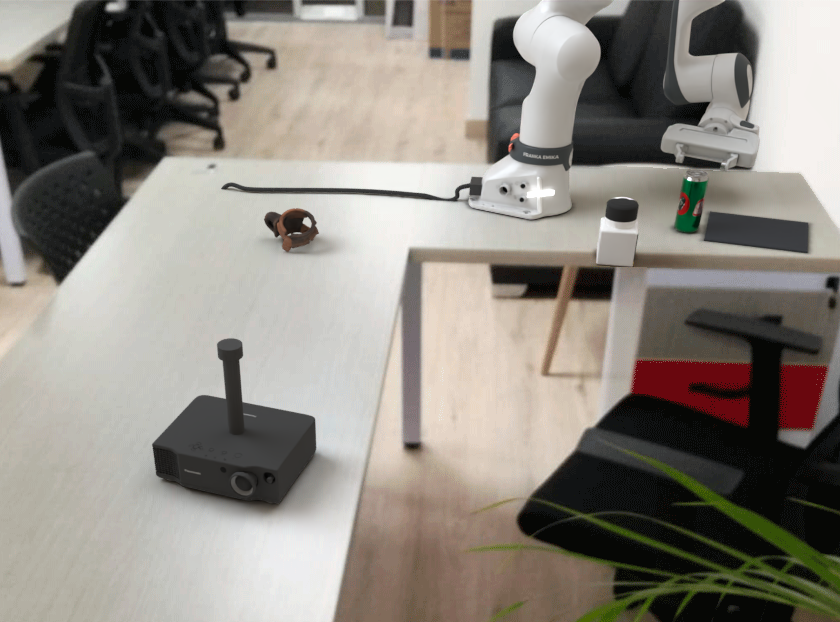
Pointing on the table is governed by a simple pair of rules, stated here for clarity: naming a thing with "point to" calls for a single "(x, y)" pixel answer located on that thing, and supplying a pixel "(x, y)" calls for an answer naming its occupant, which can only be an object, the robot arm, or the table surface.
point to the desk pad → (757, 232)
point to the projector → (235, 442)
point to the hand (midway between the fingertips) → (701, 163)
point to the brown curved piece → (292, 227)
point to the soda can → (691, 201)
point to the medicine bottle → (618, 233)
